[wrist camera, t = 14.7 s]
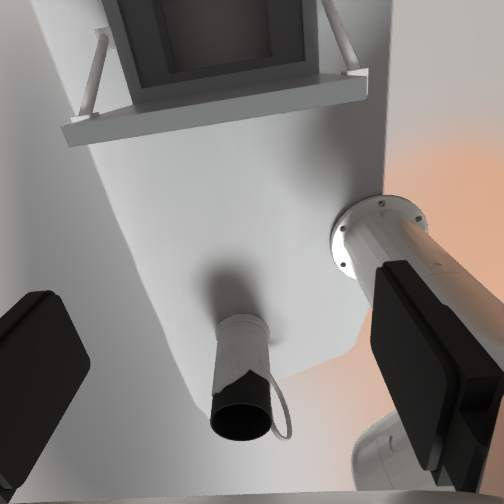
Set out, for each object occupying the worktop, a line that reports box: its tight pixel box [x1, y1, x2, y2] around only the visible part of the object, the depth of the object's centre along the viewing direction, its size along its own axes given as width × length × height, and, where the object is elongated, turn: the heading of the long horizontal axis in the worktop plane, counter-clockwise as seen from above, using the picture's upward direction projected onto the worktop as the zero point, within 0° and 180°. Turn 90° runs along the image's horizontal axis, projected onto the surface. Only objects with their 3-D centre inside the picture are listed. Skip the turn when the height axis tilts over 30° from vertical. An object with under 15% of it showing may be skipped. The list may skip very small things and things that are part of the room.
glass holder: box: [210, 314, 292, 441], centre depth 47 cm, size 9×14×15 cm, turn 43°
